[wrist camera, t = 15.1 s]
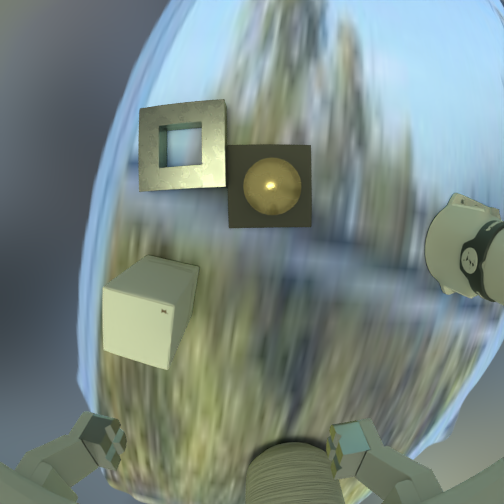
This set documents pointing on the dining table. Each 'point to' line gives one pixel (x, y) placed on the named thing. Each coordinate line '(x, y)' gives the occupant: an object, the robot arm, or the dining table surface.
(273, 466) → the vase
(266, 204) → the knob
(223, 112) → the housing
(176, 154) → the dining table surface
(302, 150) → the mat
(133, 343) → the supplement box
